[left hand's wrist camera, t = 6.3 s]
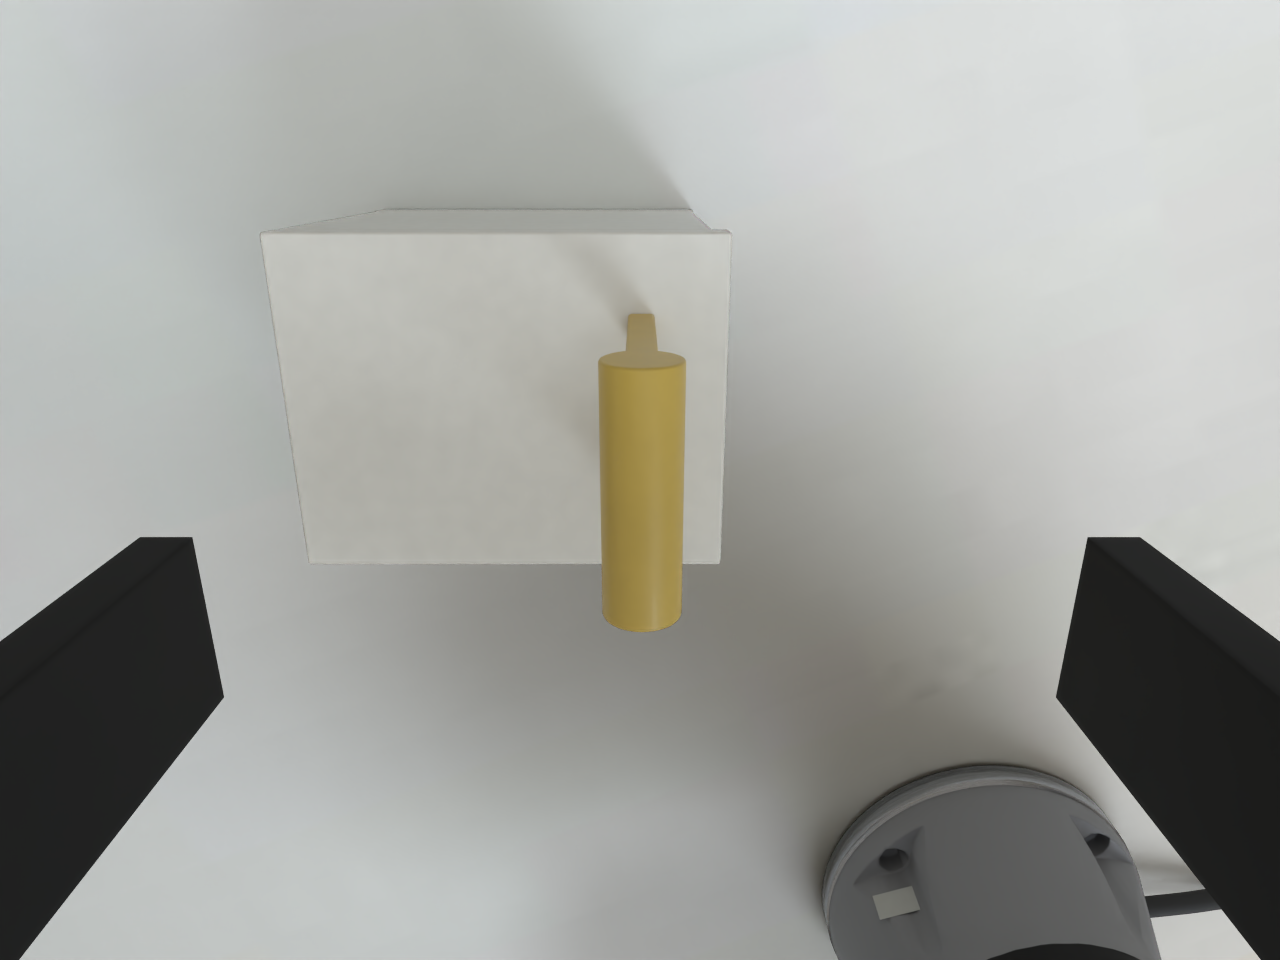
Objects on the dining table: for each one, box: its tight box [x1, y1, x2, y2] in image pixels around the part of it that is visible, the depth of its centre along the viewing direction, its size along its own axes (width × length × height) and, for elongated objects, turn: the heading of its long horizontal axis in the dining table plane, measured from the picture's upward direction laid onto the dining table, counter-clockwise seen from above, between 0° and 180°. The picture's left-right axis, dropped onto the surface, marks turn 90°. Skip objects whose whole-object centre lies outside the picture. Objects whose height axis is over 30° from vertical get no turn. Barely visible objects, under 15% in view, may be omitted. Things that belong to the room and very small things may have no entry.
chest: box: [278, 210, 712, 230], centre depth 29 cm, size 12×10×10 cm
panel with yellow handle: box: [260, 230, 732, 632], centre depth 21 cm, size 12×9×8 cm
